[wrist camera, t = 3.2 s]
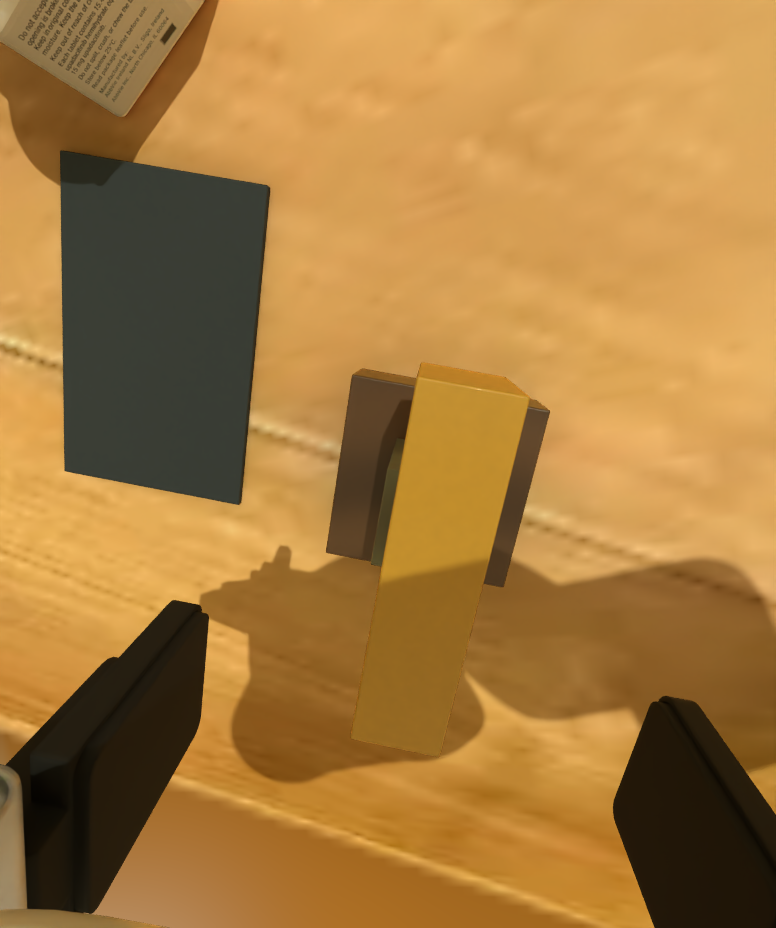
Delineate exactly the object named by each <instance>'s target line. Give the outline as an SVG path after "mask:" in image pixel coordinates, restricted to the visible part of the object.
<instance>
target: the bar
mask: <svg viewBox="0 0 776 928" xmlns="http://www.w3.org/2000/svg"><path fill="white" fill-rule="evenodd" d="M529 401H530V397H529V396H528V395H527V394H525V393H524V392H523V391H522V390H521V389H519V388H518V387H517V386H516V385H514V384H513V383H512V382H511V381H510V380H508V379H507V378H506V377H501V376H495V375H490V374H484V373H479V372H473V371H468V370H462V369H457V368H451V367H446V366H440V365H435V364H429V363H424V362H423V363H421V365H420V368H419V371H418V375H417V378H416V383H415V389H414V394H413V400H412V405H411V410H410V416H409V421H408V427H407V432H406V437H405V443H404V448H403V454H402V459H401V464H400V470H399V475H398V481H397V486H396V492H395V497H394V502H393V508H392V513H391V519H390V524H389V529H388V535H387V540H386V546H385V551H384V556H383V562H382V567H381V573H380V578H379V583H378V589H377V594H376V600H375V605H374V610H373V616H372V621H371V627H370V632H369V638H368V643H367V648H366V654H365V659H364V665H363V670H362V675H361V681H360V686H359V692H358V697H357V702H356V708H355V713H354V719H353V724H352V729H351V735H350V737H351V739H353V740H358V741H363V742H368V743H372V744H377V745H382V746H387V747H392V748H396V749H401V750H406V751H411V752H415V753H420V754H425V755H430V756H435V757H439V756H440V754H441V750H442V746H443V742H444V738H445V734H446V730H447V726H448V722H449V718H450V714H451V710H452V707H453V703H454V699H455V695H456V691H457V687H458V683H459V679H460V675H461V671H462V667H463V663H464V659H465V655H466V651H467V647H468V643H469V639H470V635H471V631H472V627H473V623H474V619H475V615H476V611H477V607H478V603H479V599H480V595H481V591H482V587H483V583H484V579H485V575H486V571H487V567H488V564H489V560H490V556H491V552H492V548H493V544H494V540H495V536H496V532H497V528H498V524H499V520H500V516H501V512H502V508H503V504H504V500H505V496H506V492H507V488H508V484H509V480H510V476H511V472H512V468H513V464H514V460H515V456H516V452H517V448H518V444H519V440H520V436H521V432H522V428H523V425H524V421H525V417H526V413H527V409H528V405H529Z"/></svg>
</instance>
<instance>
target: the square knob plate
mask: <svg viewBox="0 0 776 928" xmlns="http://www.w3.org/2000/svg"><path fill="white" fill-rule="evenodd" d="M415 383H416V378H411V377H406V376H400V375H395V374H389V373H384V372H378V371H373V370H367V369H360V370H359V371H358V372H356V373H355V374H353V375H352V379H351V386H350V393H349V400H348V406H347V413H346V420H345V427H344V433H343V440H342V447H341V453H340V460H339V467H338V474H337V480H336V487H335V494H334V501H333V507H332V514H331V521H330V528H329V534H328V541H327V548H326V553H330V554H335V555H340V556H345V557H350V558H356V559H361V560H366V561H371V564H372V565H377V566H382V562H383V556H384V551H385V546H386V540H387V535H388V529H389V524H390V519H391V513H392V508H393V502H394V497H395V492H396V486H397V481H398V475H399V470H400V464H401V459H402V454H403V448H404V443H405V437H406V432H407V427H408V421H409V416H410V410H411V405H412V400H413V394H414V389H415ZM549 414H550V411H549V410H548V409H547V408H546V407H544V406H543V405H542V404H541V403H539V402H538V401H537V400H532V399H530V401H529V405H528V409H527V413H526V417H525V421H524V425H523V428H522V432H521V436H520V440H519V444H518V448H517V452H516V456H515V460H514V464H513V468H512V472H511V476H510V480H509V484H508V488H507V492H506V496H505V500H504V504H503V508H502V512H501V516H500V520H499V524H498V528H497V532H496V536H495V540H494V544H493V548H492V552H491V556H490V560H489V564H488V567H487V571H486V575H485V579H484V583H483V584H488V585H493V586H498V587H503V586H504V584H505V580H506V576H507V572H508V568H509V565H510V561H511V557H512V553H513V550H514V546H515V542H516V538H517V534H518V531H519V527H520V523H521V519H522V516H523V512H524V508H525V504H526V501H527V497H528V493H529V489H530V485H531V482H532V478H533V474H534V470H535V467H536V463H537V459H538V455H539V452H540V448H541V444H542V440H543V436H544V433H545V429H546V425H547V421H548V418H549Z"/></svg>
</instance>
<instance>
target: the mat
mask: <svg viewBox="0 0 776 928" xmlns="http://www.w3.org/2000/svg"><path fill="white" fill-rule="evenodd" d="M60 174H61V246H62V317H63V389H64V460H65V471H67V472H72V473H77V474H82V475H87V476H92V477H98V478H103V479H108V480H113V481H118V482H123V483H129V484H134V485H139V486H144V487H149V488H154V489H160V490H165V491H170V492H175V493H180V494H185V495H191V496H196V497H201V498H206V499H211V500H216V501H222V502H227V503H232V504H237V505H239V504H240V503H241V496H242V485H243V475H244V464H245V453H246V442H247V431H248V421H249V410H250V399H251V388H252V377H253V367H254V356H255V345H256V334H257V323H258V313H259V302H260V291H261V280H262V269H263V259H264V248H265V237H266V226H267V215H268V204H269V194H270V187H269V186H267V185H262V184H256V183H250V182H244V181H238V180H233V179H227V178H221V177H215V176H209V175H203V174H197V173H191V172H185V171H180V170H174V169H168V168H162V167H156V166H150V165H144V164H138V163H133V162H127V161H121V160H115V159H109V158H103V157H97V156H91V155H85V154H80V153H74V152H68V151H62V150H61V151H60Z"/></svg>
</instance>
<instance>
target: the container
mask: <svg viewBox="0 0 776 928" xmlns="http://www.w3.org/2000/svg"><path fill="white" fill-rule="evenodd" d="M204 1H205V0H0V42H2V43H3V44H5V45H6V46H8V47H10V48H11V49H13V50H14V51H16V52H17V53H19V54H21V55H22V56H24V57H25V58H27V59H28V60H30V61H32V62H33V63H35V64H36V65H38V66H39V67H41V68H43V69H44V70H46V71H47V72H49V73H50V74H52V75H53V76H55V77H57V78H58V79H60V80H61V81H63V82H64V83H66V84H68V85H69V86H71V87H72V88H74V89H75V90H77V91H79V92H80V93H82V94H83V95H85V96H86V97H88V98H90V99H91V100H93V101H94V102H96V103H97V104H99V105H101V106H102V107H104V108H105V109H107V110H108V111H110V112H111V113H113V114H115V115H116V116H119V117H124V116H125V115H127V114H128V112H129V111H130V109H131V108H132V106H133V105H134V103H135V102H136V100H137V99H138V98H139V96H140V95H141V93H142V92H143V90H144V89H145V87H146V86H147V84H148V83H149V82H150V80H151V79H152V77H153V76H154V74H155V73H156V71H157V70H158V68H159V67H160V65H161V64H162V63H163V61H164V60H165V58H166V57H167V55H168V54H169V52H170V51H171V49H172V48H173V46H174V45H175V44H176V42H177V41H178V39H179V38H180V36H181V35H182V33H183V32H184V30H185V29H186V27H187V26H188V25H189V23H190V22H191V20H192V19H193V17H194V16H195V14H196V13H197V11H198V10H199V8H200V7H201V6H202V4H203V3H204Z"/></svg>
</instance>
